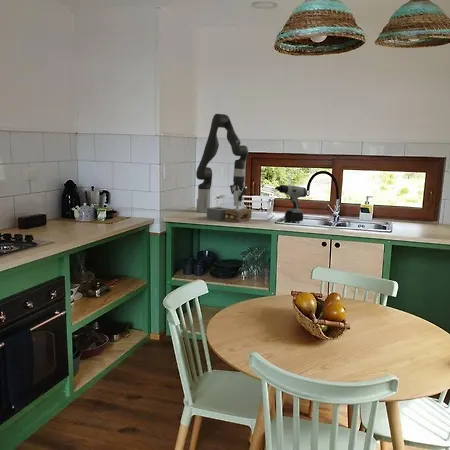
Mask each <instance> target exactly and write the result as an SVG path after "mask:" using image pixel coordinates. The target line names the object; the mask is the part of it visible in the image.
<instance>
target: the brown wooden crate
mask: <svg viewBox="0 0 450 450" xmlns="http://www.w3.org/2000/svg"><path fill="white" fill-rule="evenodd" d="M241 209H242V210H248V211H250V217H249V220H250V219H252V213H253V210H252V209H250V208H249V209H248V208H241ZM225 217H230V218H236V215H234V214H229V215H225ZM241 217H245V214H244V215H241Z"/></svg>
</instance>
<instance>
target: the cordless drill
mask: <svg viewBox="0 0 450 450" xmlns="http://www.w3.org/2000/svg"><path fill="white" fill-rule="evenodd" d="M274 189H275V190H277V191H278V192H279V193H282V194H284V195H286V196H289V197H290V198H289V200H290V201H291V202H292V205H293V207H292V208H290V207H289V208H288V209H287V210H286V211H285V213H284V220H285V221H287V222H303V221H304V214H303V209H300V203H299V201H298V198H306V197H307V194H308V192H307V191H308V190H307V188H306V187H303V186H298V185H297V186H296V185H291V184H290V185H289V184H288V185H287V184H280V185H279V186H275V188H274Z"/></svg>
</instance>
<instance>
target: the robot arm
mask: <svg viewBox="0 0 450 450" xmlns="http://www.w3.org/2000/svg"><path fill="white" fill-rule="evenodd" d="M219 128H221V129H223V128H224V129H225V130H226V139H227V141H228V143H229V144H230V147H231V151H232V154H233V155H234V156H236V157H239V158H238V159H235V160H234V166H233V167H234V169H233V177H232V178H233V179H232V180H233V181H232V182H233V184H231V185H229V188H230V194H231V195H233V196H234V192H235V191H239V201H241V202H242V201H243V196H245V195H246V193H247V190H248V187H247V186H245V184H244V183H245V179H246V177H245V176H246V171H245V169H246V161H247V157H248V156H249V155H248V154H249V149H248V146H247V145H241V139H240V137H239V136H238V135H237V133H236V131H235V129H234V127H233V124H232V122H231V119H230V117H229V116H228V115H227V114H225V113H223V114H221V113H215V114H214V115H213V117H212V120H211V124H210V130H209V134H208V137H207V141H206V142H205V146H204V150H203V153H202V156H201V159H200V162H199V164H198V167H197V170H196V171H195V172H196V173H195V175H196V179H197V180H201V181H203V182H201V183H200V184H198V185H197V198H196V212H198V213H207V208H211V188H212V187H211V186H212V183H213V170H212V168H211V167H209V166H208V164H209V163H210V162H211V161H212V160H213V159H214V158H215V156H216V155H217V153H218V151H219V147H220V144H219V140H218V134H217V133H218V129H219Z"/></svg>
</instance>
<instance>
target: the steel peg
mask: <svg viewBox="0 0 450 450" xmlns="http://www.w3.org/2000/svg"><path fill="white" fill-rule="evenodd" d="M233 206H234V207H236V208H233V209H234V211H241V209H242V208H241V209H240V208H239V207H242V201H239V191H235V192H234V195H233Z"/></svg>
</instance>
